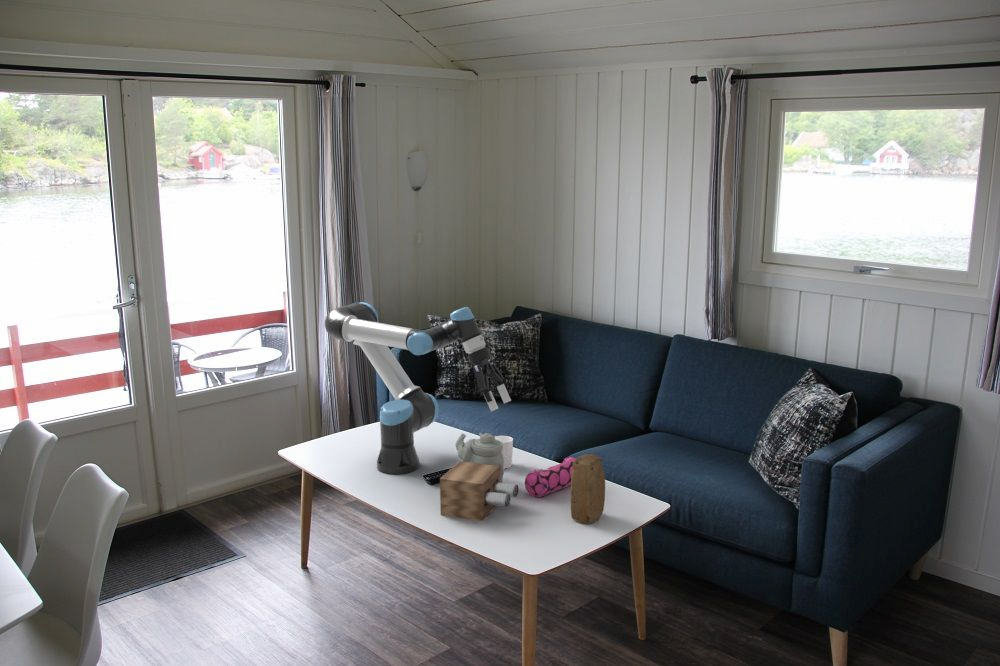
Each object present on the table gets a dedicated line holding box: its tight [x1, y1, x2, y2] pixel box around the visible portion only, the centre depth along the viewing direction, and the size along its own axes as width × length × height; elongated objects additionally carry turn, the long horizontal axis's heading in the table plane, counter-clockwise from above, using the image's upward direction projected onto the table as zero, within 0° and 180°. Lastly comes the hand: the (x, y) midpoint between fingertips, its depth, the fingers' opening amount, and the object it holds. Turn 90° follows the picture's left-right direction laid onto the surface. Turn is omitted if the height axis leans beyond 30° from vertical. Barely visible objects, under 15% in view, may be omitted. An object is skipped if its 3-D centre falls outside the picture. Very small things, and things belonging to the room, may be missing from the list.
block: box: [570, 453, 606, 524], centre depth 264 cm, size 11×8×20 cm
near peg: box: [484, 491, 511, 508], centre depth 267 cm, size 14×4×4 cm, turn 71°
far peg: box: [493, 482, 519, 498], centre depth 274 cm, size 14×4×4 cm, turn 71°
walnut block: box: [439, 460, 500, 522], centre depth 273 cm, size 14×16×12 cm
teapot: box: [455, 432, 505, 483], centre depth 292 cm, size 16×15×19 cm
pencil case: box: [524, 456, 576, 498], centre depth 288 cm, size 21×10×10 cm, turn 137°
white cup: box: [494, 435, 514, 470], centre depth 309 cm, size 8×8×10 cm
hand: (501, 406), depth 300 cm, fingers open, 13 cm apart
